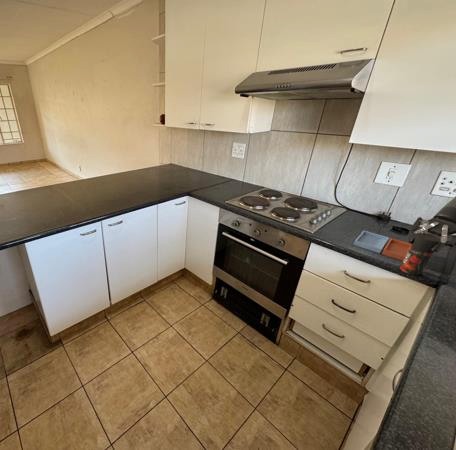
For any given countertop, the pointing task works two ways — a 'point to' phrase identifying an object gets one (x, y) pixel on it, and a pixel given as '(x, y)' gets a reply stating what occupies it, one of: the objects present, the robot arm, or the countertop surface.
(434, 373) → the countertop surface
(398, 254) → the terracotta tray
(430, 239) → the deodorant
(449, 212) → the robot arm
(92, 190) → the countertop surface
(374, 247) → the blue tray
